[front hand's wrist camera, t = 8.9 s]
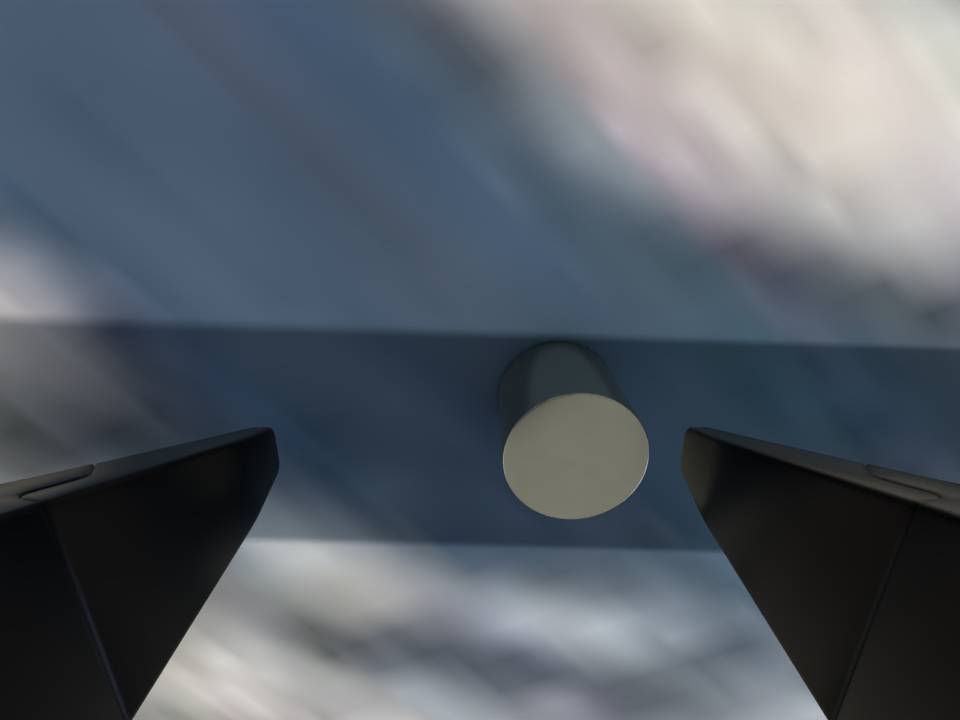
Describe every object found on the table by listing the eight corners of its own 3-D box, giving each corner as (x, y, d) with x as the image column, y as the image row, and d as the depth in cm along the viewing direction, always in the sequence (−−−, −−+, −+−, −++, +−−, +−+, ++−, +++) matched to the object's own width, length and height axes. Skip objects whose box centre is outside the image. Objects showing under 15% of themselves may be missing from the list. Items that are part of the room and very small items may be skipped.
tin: (481, 427, 20) (482, 497, 16) (522, 325, 19) (534, 373, 15) (585, 460, 21) (611, 535, 17) (633, 363, 19) (675, 420, 15)
